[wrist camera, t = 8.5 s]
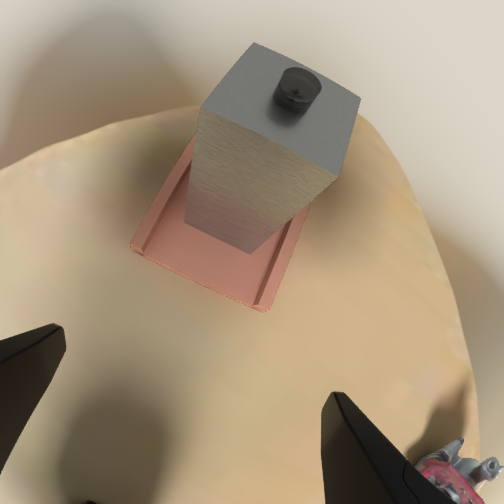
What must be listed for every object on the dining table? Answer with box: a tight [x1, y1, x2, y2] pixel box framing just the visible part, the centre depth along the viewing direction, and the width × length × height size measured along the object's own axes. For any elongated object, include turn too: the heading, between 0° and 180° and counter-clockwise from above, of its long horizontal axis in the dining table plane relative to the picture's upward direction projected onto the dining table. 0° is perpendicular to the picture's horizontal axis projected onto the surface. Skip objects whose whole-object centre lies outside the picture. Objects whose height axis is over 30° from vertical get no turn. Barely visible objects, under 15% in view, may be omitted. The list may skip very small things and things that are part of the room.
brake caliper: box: [414, 438, 504, 504], centre depth 17 cm, size 11×11×12 cm
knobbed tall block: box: [184, 43, 361, 255], centre depth 15 cm, size 4×5×13 cm
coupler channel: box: [130, 133, 311, 312], centre depth 21 cm, size 10×10×2 cm
